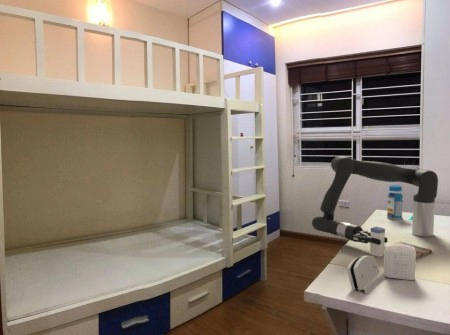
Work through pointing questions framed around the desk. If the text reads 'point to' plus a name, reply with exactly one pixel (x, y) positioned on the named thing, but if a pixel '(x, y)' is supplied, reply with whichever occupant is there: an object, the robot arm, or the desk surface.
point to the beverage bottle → (395, 202)
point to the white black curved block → (364, 273)
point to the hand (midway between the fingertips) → (383, 241)
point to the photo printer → (399, 261)
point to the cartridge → (375, 248)
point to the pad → (417, 250)
